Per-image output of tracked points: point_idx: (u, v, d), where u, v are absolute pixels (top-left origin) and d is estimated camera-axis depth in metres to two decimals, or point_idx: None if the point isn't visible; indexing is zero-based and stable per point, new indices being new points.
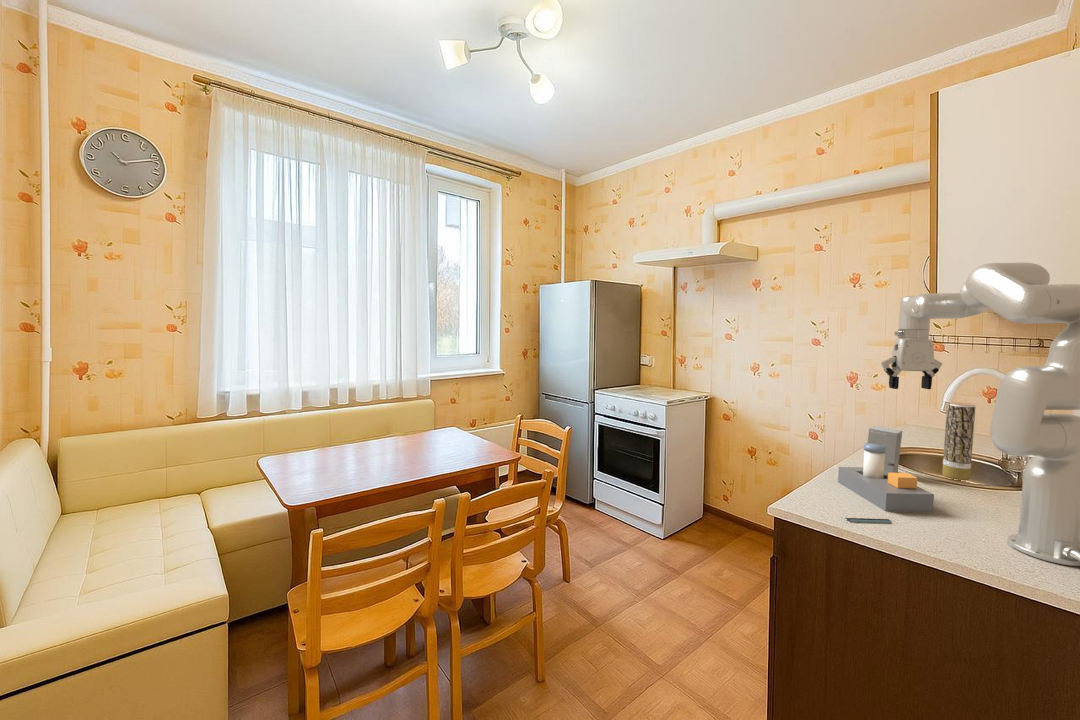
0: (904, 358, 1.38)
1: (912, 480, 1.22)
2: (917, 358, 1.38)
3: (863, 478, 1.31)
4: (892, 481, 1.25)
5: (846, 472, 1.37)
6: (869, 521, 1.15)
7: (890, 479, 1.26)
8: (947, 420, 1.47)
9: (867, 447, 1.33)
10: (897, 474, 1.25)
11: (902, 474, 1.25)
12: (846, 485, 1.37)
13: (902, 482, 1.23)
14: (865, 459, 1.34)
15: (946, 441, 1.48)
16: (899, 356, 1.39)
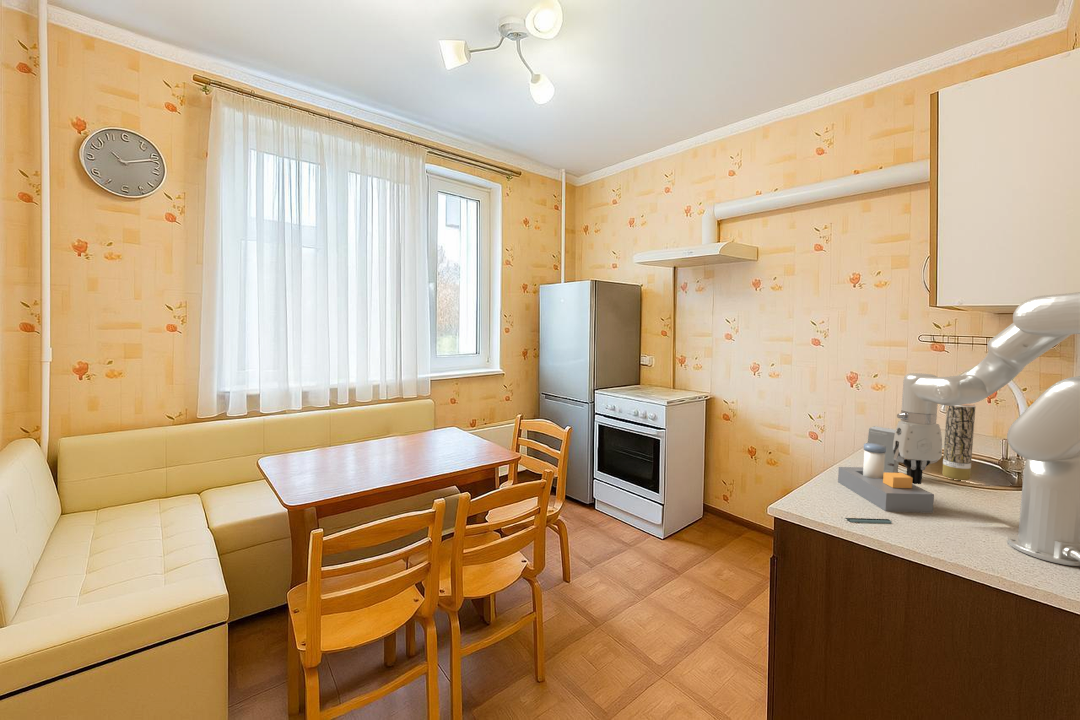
0: (908, 445, 1.21)
1: (907, 480, 1.23)
2: (923, 446, 1.21)
3: (863, 478, 1.31)
4: (887, 481, 1.25)
5: (846, 472, 1.37)
6: (869, 521, 1.15)
7: (885, 479, 1.26)
8: (947, 420, 1.47)
9: (867, 447, 1.33)
10: (892, 474, 1.25)
11: (898, 474, 1.25)
12: (846, 485, 1.37)
13: (897, 482, 1.23)
14: (865, 459, 1.34)
15: (946, 441, 1.48)
16: (902, 443, 1.22)
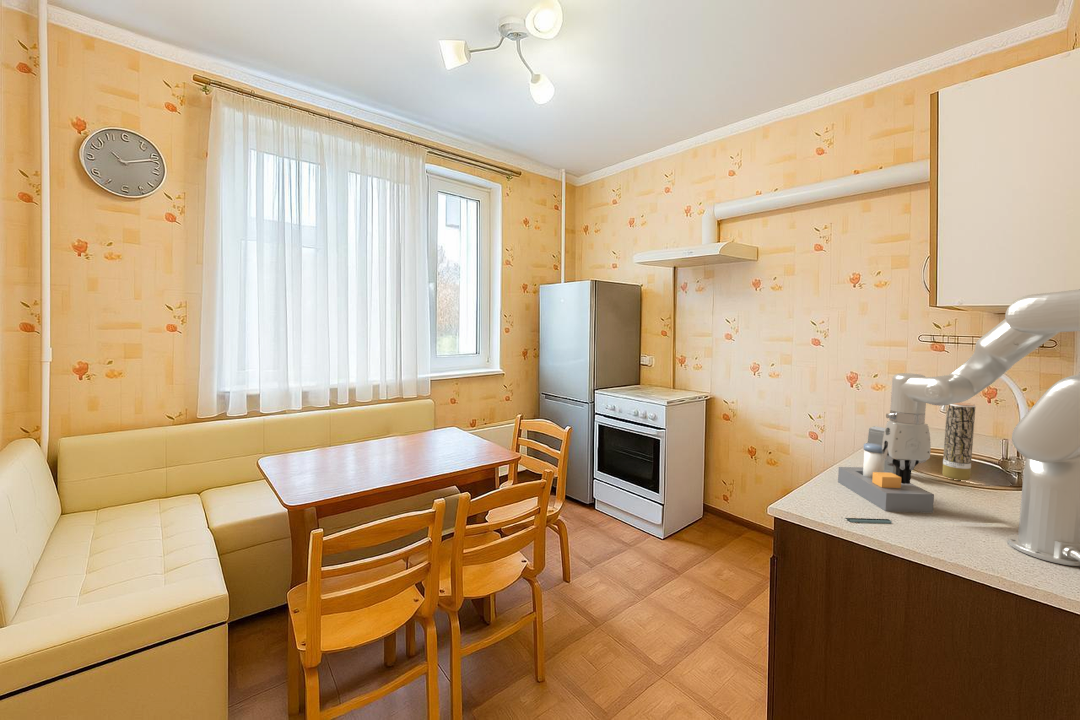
0: (896, 445, 1.21)
1: (896, 480, 1.23)
2: (911, 446, 1.21)
3: (863, 478, 1.31)
4: (876, 481, 1.25)
5: (846, 472, 1.37)
6: (869, 521, 1.15)
7: (874, 479, 1.26)
8: (947, 420, 1.47)
9: (867, 447, 1.33)
10: (881, 474, 1.25)
11: (887, 474, 1.25)
12: (846, 485, 1.37)
13: (886, 482, 1.23)
14: (865, 459, 1.34)
15: (946, 441, 1.48)
16: (891, 442, 1.22)
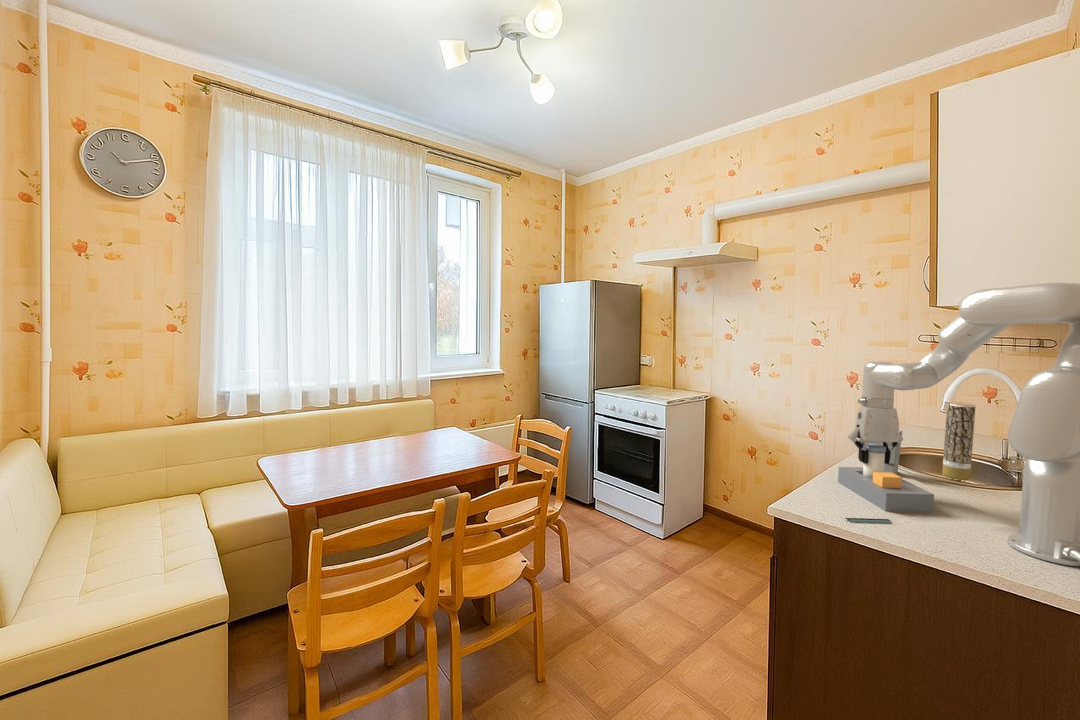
0: (867, 428, 1.30)
1: (896, 480, 1.23)
2: (881, 429, 1.30)
3: (863, 478, 1.31)
4: (877, 481, 1.25)
5: (846, 472, 1.37)
6: (869, 521, 1.15)
7: (874, 479, 1.26)
8: (947, 420, 1.47)
9: (867, 447, 1.33)
10: (882, 474, 1.25)
11: (887, 474, 1.25)
12: (846, 485, 1.37)
13: (886, 482, 1.23)
14: None
15: (946, 441, 1.48)
16: (862, 426, 1.31)
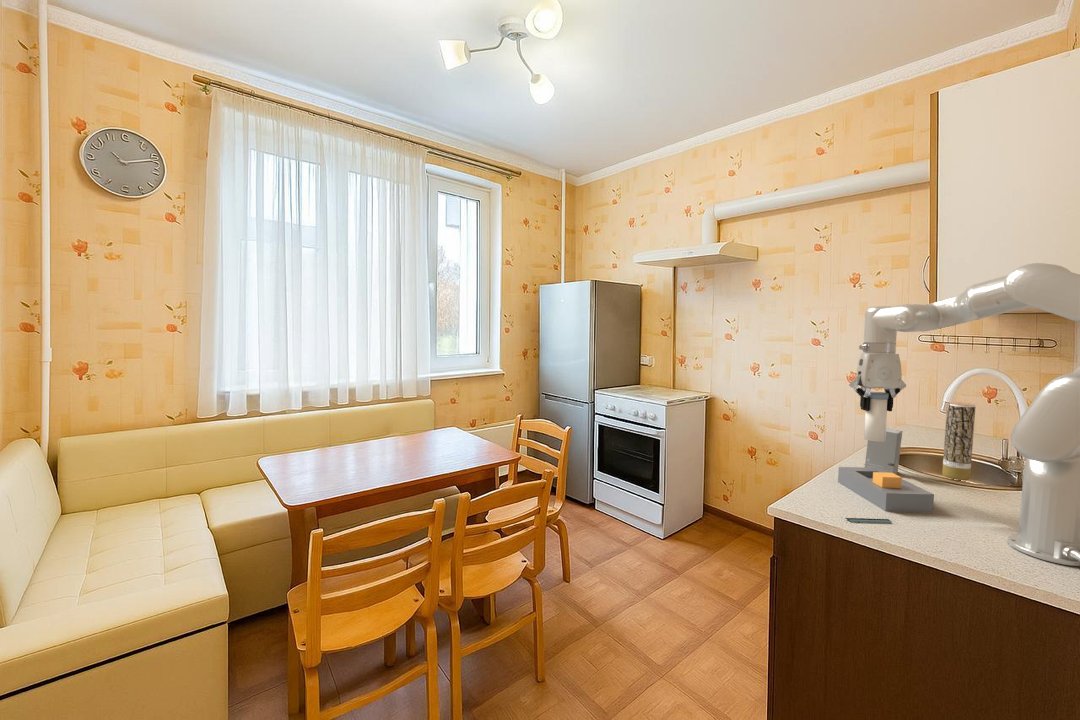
0: (869, 374, 1.28)
1: (896, 480, 1.23)
2: (883, 374, 1.27)
3: (863, 478, 1.31)
4: (877, 481, 1.25)
5: (846, 472, 1.37)
6: (869, 521, 1.15)
7: (874, 479, 1.26)
8: (947, 420, 1.47)
9: (869, 394, 1.30)
10: (882, 474, 1.25)
11: (887, 474, 1.25)
12: (846, 485, 1.37)
13: (886, 482, 1.23)
14: None
15: (946, 441, 1.48)
16: (864, 372, 1.28)
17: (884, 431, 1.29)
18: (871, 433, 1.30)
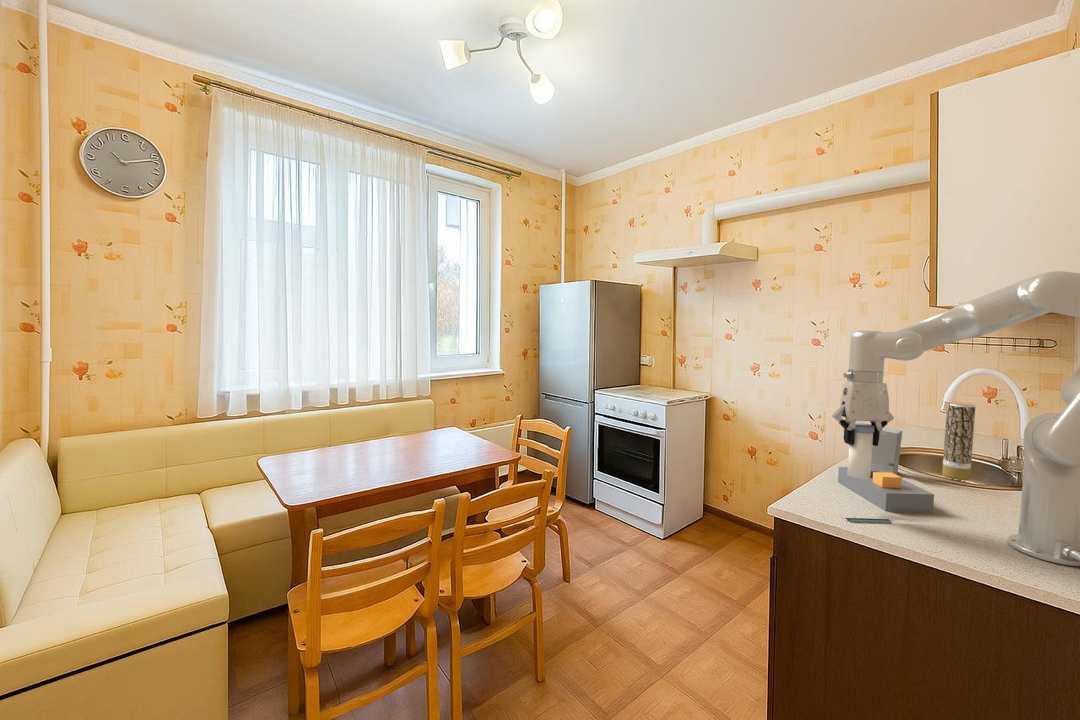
0: (853, 405, 1.16)
1: (896, 480, 1.23)
2: (869, 406, 1.15)
3: None
4: (877, 481, 1.25)
5: (846, 472, 1.37)
6: (869, 521, 1.15)
7: (874, 479, 1.26)
8: (947, 420, 1.47)
9: (853, 427, 1.18)
10: (882, 474, 1.25)
11: (887, 474, 1.25)
12: (846, 485, 1.37)
13: (886, 482, 1.23)
14: None
15: (946, 441, 1.48)
16: (848, 403, 1.17)
17: (869, 467, 1.17)
18: (855, 469, 1.18)
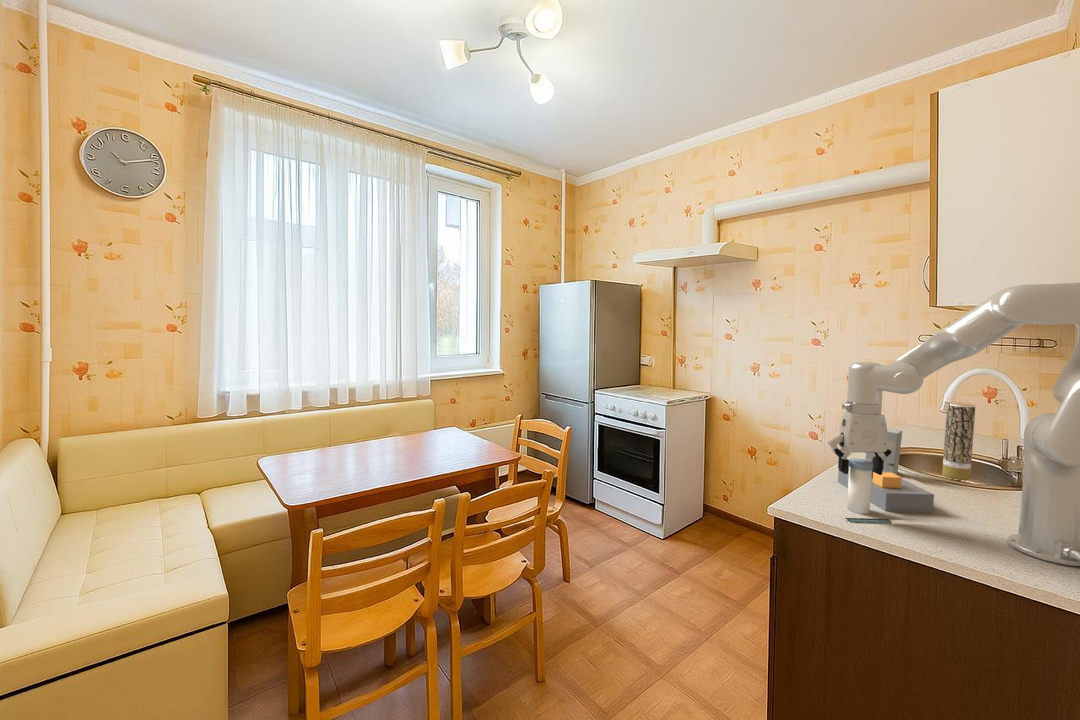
0: (852, 437, 1.16)
1: (896, 480, 1.23)
2: (867, 438, 1.16)
3: None
4: (877, 481, 1.25)
5: None
6: (869, 521, 1.15)
7: (874, 479, 1.26)
8: (947, 420, 1.47)
9: (852, 463, 1.19)
10: (882, 474, 1.25)
11: (887, 474, 1.25)
12: (846, 485, 1.37)
13: (886, 482, 1.23)
14: (850, 476, 1.20)
15: (946, 441, 1.48)
16: (847, 434, 1.17)
17: (868, 504, 1.18)
18: (855, 506, 1.19)
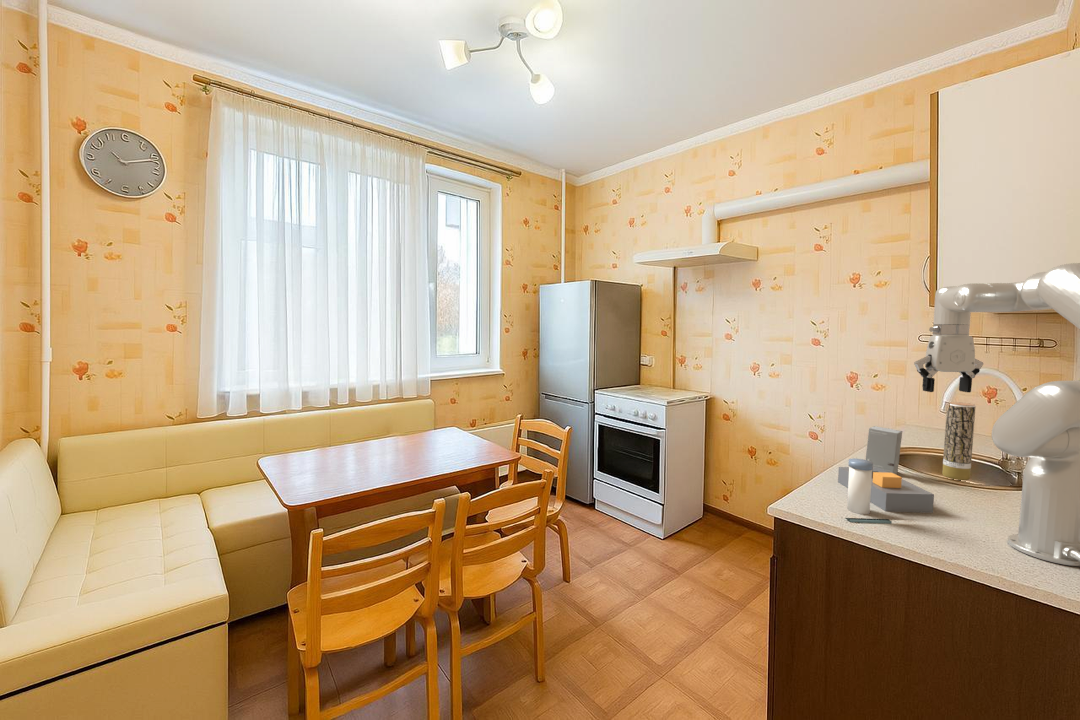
0: (941, 357, 1.22)
1: (896, 480, 1.23)
2: (956, 357, 1.22)
3: None
4: (877, 481, 1.25)
5: (846, 472, 1.37)
6: (869, 521, 1.15)
7: (874, 479, 1.26)
8: (947, 420, 1.47)
9: (852, 463, 1.19)
10: (882, 474, 1.25)
11: (887, 474, 1.25)
12: (846, 485, 1.37)
13: (886, 482, 1.23)
14: (850, 476, 1.20)
15: (946, 441, 1.48)
16: (935, 355, 1.23)
17: (868, 504, 1.18)
18: (855, 506, 1.19)
